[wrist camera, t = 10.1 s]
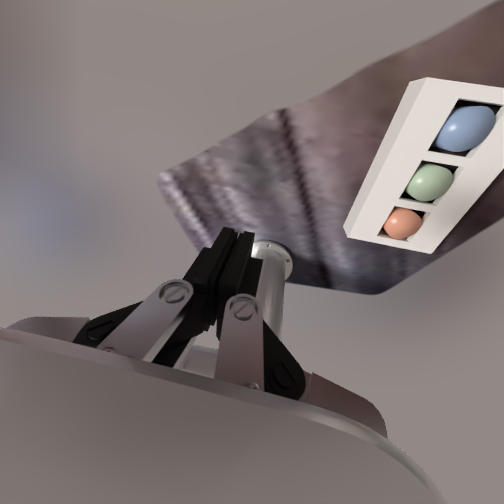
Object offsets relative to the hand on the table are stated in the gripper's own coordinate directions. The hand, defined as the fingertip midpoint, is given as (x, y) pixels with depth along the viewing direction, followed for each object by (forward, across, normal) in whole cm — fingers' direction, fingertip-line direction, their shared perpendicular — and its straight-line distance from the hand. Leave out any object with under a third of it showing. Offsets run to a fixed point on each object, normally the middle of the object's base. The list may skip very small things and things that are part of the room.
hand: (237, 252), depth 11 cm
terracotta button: (+27, -22, +5) cm, 35 cm away
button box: (+27, -22, -1) cm, 35 cm away
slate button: (+27, -22, -7) cm, 35 cm away
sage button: (+27, -22, -1) cm, 35 cm away
